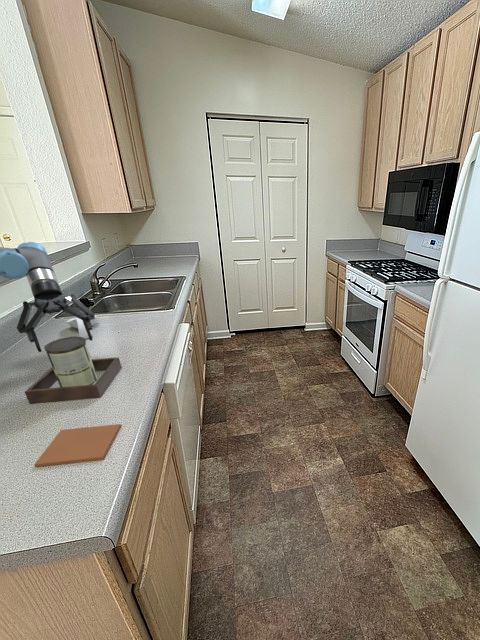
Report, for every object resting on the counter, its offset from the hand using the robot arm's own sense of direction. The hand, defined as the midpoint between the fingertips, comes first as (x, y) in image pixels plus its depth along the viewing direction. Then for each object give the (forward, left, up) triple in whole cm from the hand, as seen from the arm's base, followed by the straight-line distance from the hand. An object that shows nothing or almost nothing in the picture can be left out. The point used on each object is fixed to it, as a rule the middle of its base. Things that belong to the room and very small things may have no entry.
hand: (66, 344), depth 102 cm
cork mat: (+15, -36, -12) cm, 41 cm away
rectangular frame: (+2, -5, -12) cm, 13 cm away
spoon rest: (-16, +45, -12) cm, 49 cm away
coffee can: (+2, -5, -12) cm, 13 cm away
